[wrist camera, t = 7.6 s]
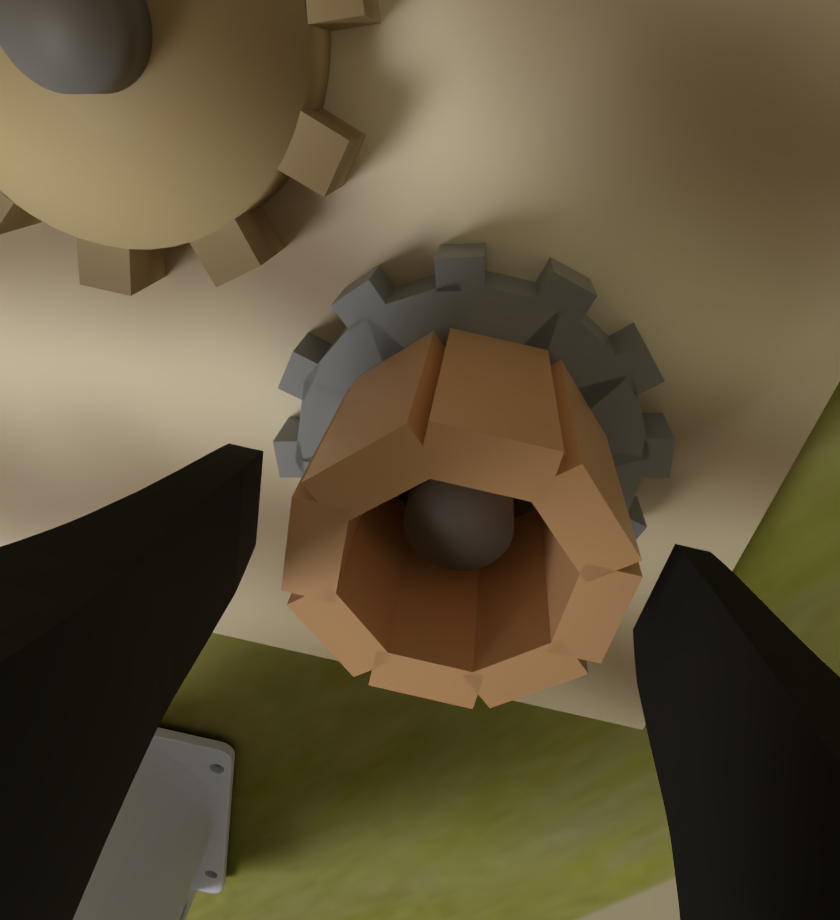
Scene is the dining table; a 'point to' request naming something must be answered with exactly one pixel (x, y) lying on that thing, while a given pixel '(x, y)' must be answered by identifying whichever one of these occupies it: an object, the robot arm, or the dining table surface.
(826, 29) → the carrier
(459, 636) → the planet gear
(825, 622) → the dining table surface
